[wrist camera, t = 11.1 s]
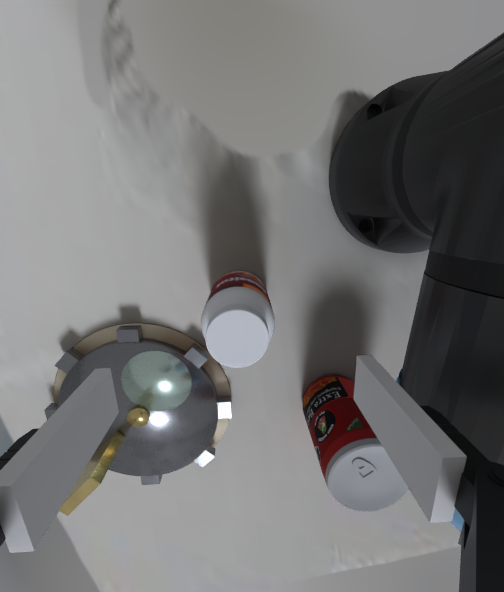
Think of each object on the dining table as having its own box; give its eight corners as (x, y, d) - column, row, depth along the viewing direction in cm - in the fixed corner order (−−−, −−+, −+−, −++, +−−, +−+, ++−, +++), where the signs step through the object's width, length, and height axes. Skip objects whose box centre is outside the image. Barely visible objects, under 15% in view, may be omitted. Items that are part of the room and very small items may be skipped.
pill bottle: (270, 272, 30) (286, 303, 20) (263, 325, 32) (275, 380, 21) (212, 266, 30) (197, 294, 19) (208, 320, 31) (192, 374, 21)
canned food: (326, 361, 33) (366, 429, 23) (375, 393, 35) (433, 470, 24) (288, 407, 35) (308, 490, 24) (336, 435, 37) (375, 525, 26)
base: (35, 327, 31) (34, 328, 31) (226, 319, 31) (226, 319, 31) (75, 476, 37) (74, 477, 36) (235, 466, 37) (235, 467, 37)
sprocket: (16, 411, 33) (-46, 466, 26) (125, 286, 29) (88, 309, 22) (157, 499, 38) (138, 567, 30) (267, 401, 34) (274, 450, 27)
